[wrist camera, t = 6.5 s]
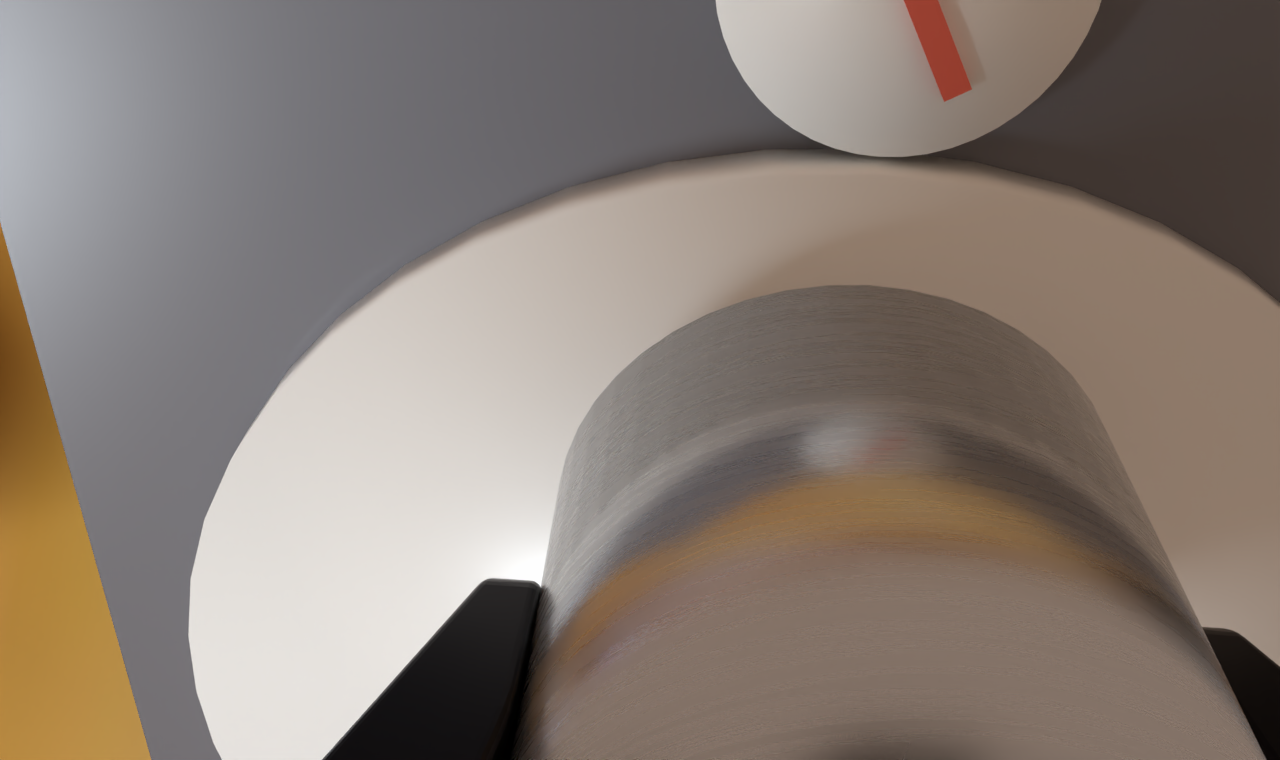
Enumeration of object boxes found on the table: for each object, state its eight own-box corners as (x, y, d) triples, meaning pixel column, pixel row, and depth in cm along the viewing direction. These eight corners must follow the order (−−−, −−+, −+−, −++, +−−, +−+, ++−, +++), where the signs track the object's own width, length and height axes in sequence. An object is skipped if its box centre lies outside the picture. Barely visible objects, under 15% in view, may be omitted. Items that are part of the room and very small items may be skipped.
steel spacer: (1048, 732, 10) (1205, 1254, 7) (559, 702, 11) (486, 1200, 7) (1187, 302, 8) (1521, 779, 5) (554, 269, 8) (443, 708, 5)
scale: (1207, 880, 17) (1290, 1093, 15) (270, 809, 18) (196, 1007, 15) (1789, -281, 9) (2192, -243, 7) (28, -368, 10) (-217, -362, 7)
